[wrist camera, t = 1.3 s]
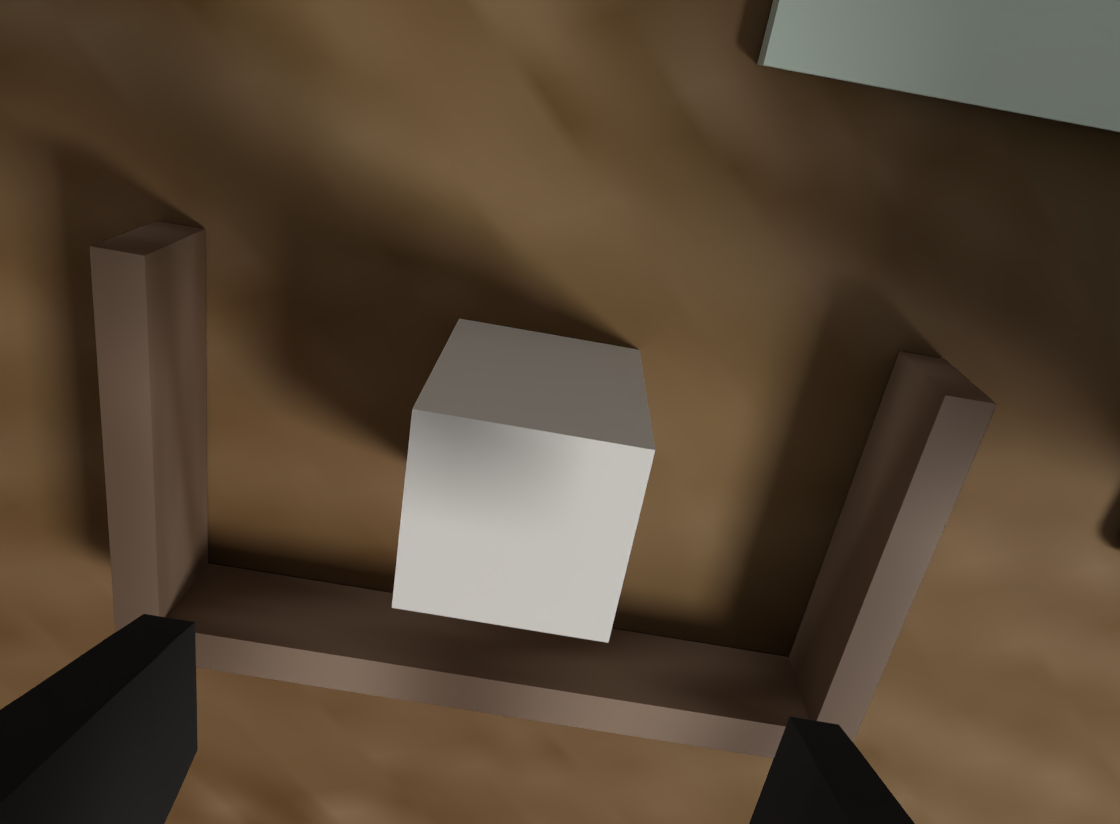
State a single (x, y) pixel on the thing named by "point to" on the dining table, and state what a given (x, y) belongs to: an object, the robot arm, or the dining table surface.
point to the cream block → (524, 481)
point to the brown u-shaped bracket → (481, 648)
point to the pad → (962, 51)
